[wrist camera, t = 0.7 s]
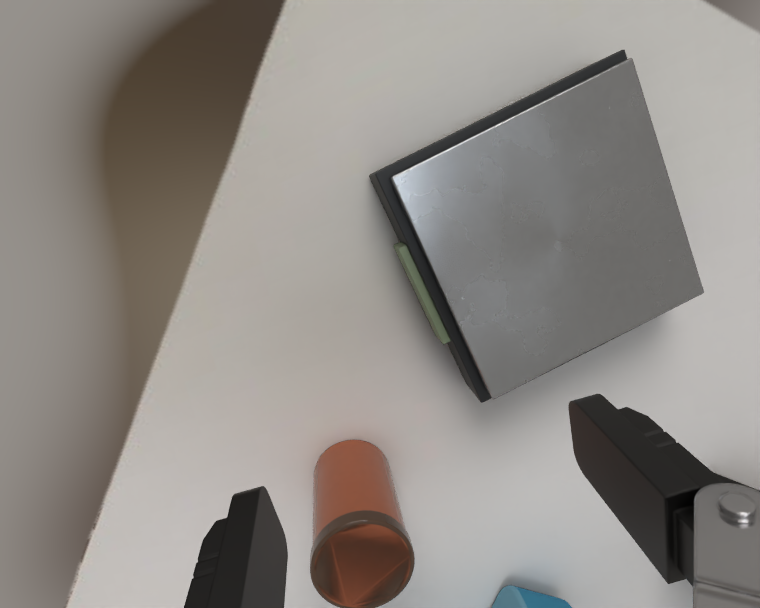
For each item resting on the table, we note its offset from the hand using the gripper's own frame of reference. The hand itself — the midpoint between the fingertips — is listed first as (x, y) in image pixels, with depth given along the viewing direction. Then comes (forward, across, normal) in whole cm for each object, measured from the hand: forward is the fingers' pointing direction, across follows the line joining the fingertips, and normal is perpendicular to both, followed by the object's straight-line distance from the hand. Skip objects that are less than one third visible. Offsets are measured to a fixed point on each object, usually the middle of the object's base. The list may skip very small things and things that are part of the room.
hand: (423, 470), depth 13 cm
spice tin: (+16, +4, +12) cm, 20 cm away
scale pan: (+14, -10, -1) cm, 17 cm away
